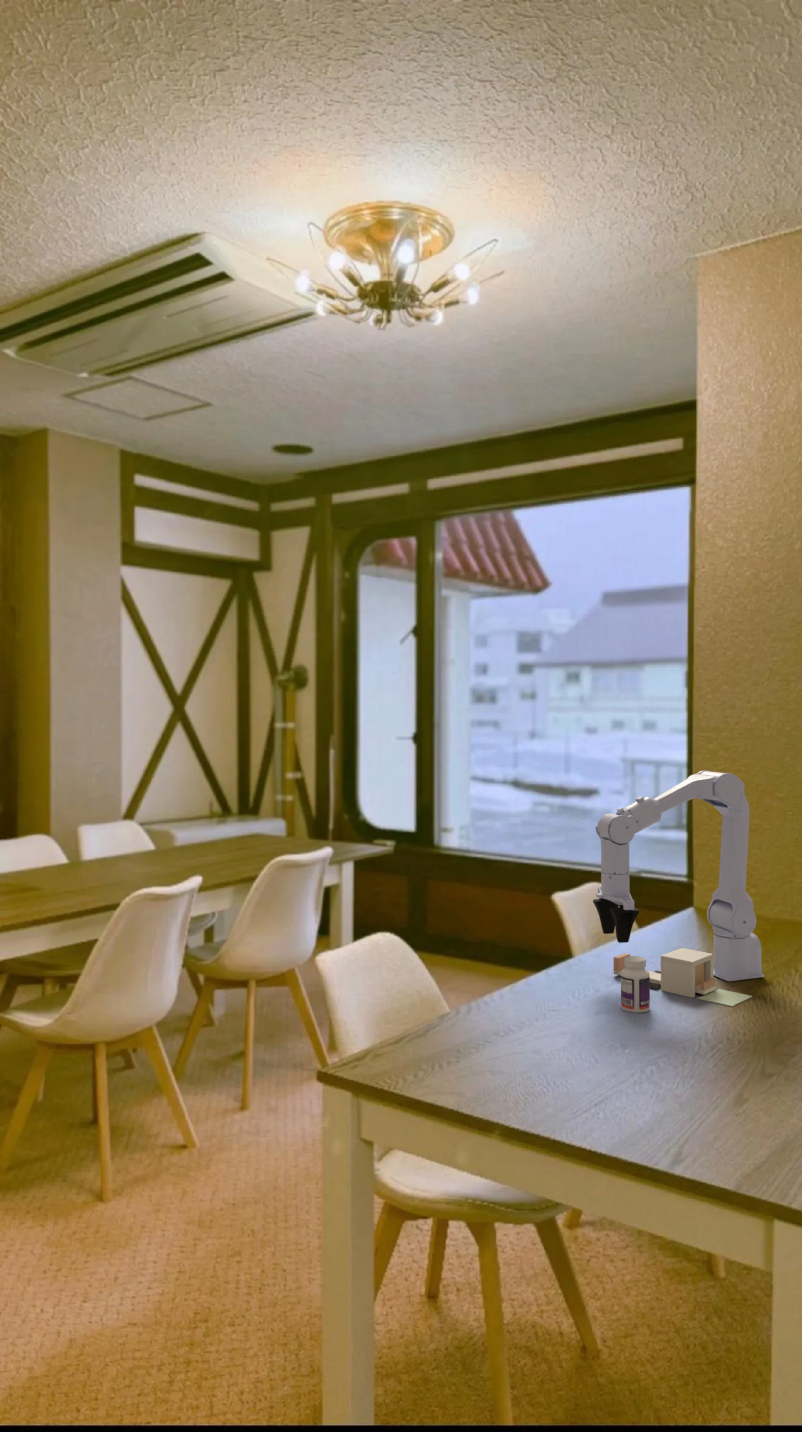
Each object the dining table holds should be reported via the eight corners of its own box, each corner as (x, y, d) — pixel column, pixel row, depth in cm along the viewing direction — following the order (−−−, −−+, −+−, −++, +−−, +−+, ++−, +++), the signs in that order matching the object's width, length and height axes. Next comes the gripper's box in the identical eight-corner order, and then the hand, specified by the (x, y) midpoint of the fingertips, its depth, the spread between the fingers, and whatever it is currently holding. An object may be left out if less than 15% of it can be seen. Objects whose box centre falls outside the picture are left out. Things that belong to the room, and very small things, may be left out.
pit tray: (656, 976, 205) (656, 970, 205) (677, 980, 201) (677, 975, 201) (635, 984, 199) (635, 978, 199) (656, 989, 195) (656, 983, 195)
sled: (625, 969, 208) (625, 946, 208) (715, 989, 193) (715, 965, 193) (613, 973, 205) (613, 950, 205) (704, 994, 190) (704, 969, 190)
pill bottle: (647, 1005, 185) (647, 955, 185) (652, 1014, 180) (651, 962, 180) (619, 1004, 186) (619, 954, 186) (622, 1013, 180) (622, 962, 180)
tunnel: (682, 981, 200) (682, 947, 200) (713, 988, 196) (713, 954, 195) (660, 990, 194) (660, 955, 194) (692, 997, 189) (692, 962, 189)
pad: (719, 989, 195) (719, 988, 195) (752, 997, 190) (752, 996, 190) (698, 999, 189) (698, 998, 189) (732, 1006, 184) (732, 1005, 184)
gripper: (584, 867, 204) (584, 930, 204) (610, 879, 190) (611, 947, 190) (615, 865, 205) (615, 928, 205) (644, 877, 191) (644, 945, 191)
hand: (615, 937), depth 198 cm, fingers open, 7 cm apart
